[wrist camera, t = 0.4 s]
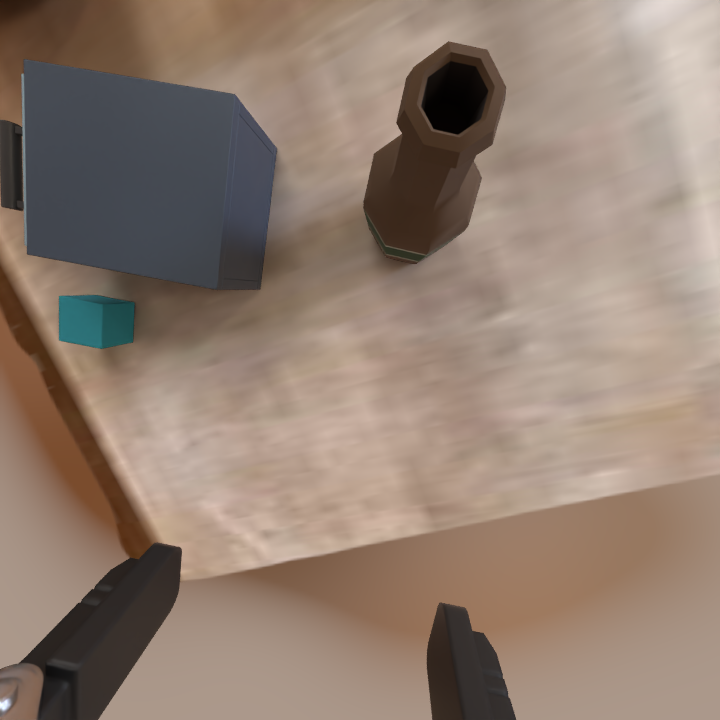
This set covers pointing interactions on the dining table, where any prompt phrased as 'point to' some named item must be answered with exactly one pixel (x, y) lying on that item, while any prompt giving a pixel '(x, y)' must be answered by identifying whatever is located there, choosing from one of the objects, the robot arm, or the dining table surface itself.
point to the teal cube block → (95, 321)
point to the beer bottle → (434, 153)
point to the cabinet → (145, 177)
